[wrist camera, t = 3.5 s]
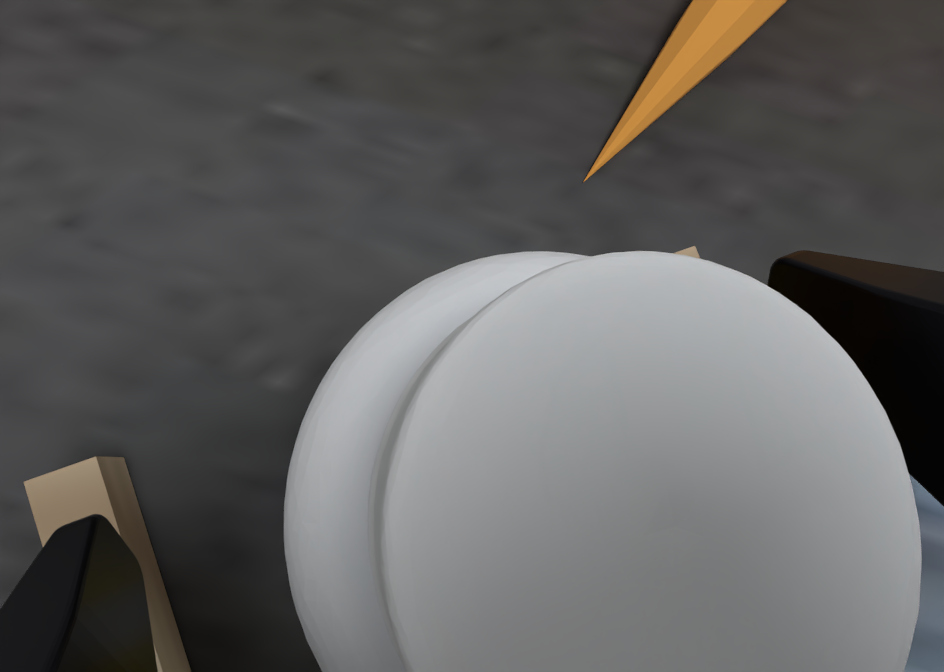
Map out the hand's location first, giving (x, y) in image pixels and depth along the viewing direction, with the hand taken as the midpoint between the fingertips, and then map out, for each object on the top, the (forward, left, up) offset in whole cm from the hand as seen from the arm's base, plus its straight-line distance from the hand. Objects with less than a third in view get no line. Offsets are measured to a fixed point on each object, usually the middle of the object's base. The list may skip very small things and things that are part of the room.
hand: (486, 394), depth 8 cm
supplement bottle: (-1, -1, -7) cm, 7 cm away
